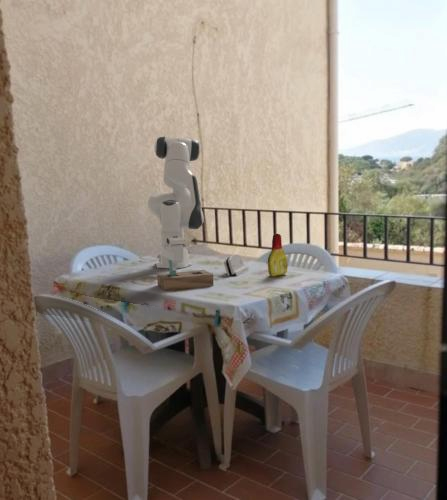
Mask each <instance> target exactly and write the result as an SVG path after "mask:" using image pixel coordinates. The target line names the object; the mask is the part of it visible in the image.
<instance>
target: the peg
mask: <svg viewBox="0 0 447 500" xmlns="http://www.w3.org/2000/svg"><path fill="white" fill-rule="evenodd" d="M176 272H177V270H176V271H173V270H172V261H171V260H169V268H168V273H170V277H173V276H177V275H176Z"/></svg>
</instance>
